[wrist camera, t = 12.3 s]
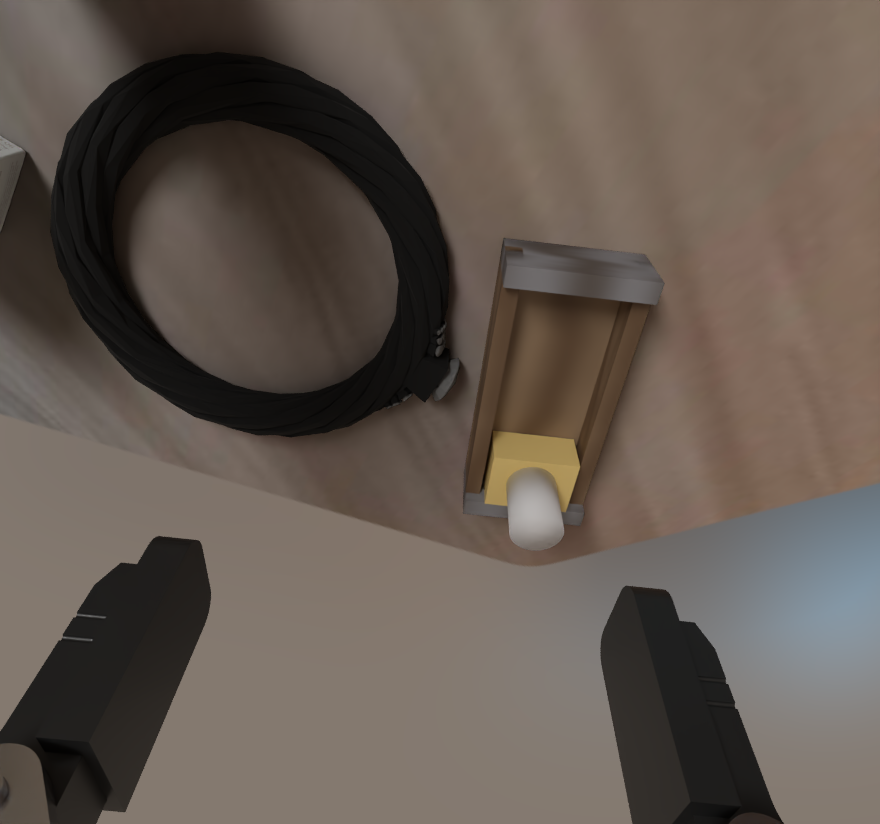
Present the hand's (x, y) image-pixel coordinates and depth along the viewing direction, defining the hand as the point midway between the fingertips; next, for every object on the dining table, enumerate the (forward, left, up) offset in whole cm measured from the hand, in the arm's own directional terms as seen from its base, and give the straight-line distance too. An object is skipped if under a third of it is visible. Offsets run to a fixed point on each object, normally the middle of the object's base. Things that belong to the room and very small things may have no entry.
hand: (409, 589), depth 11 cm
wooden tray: (+9, -15, -33) cm, 37 cm away
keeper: (+9, -22, -31) cm, 39 cm away
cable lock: (-12, -9, -34) cm, 37 cm away
